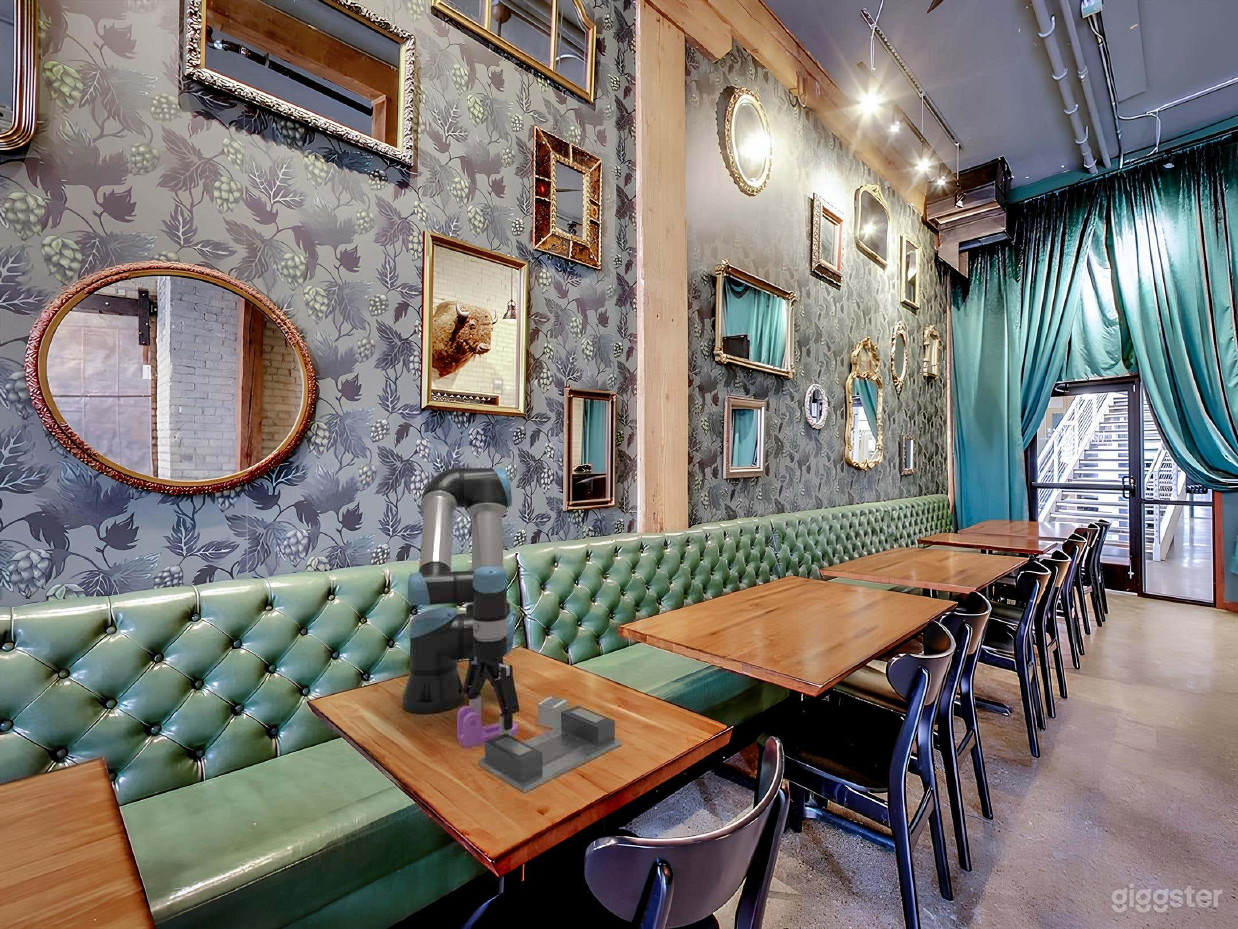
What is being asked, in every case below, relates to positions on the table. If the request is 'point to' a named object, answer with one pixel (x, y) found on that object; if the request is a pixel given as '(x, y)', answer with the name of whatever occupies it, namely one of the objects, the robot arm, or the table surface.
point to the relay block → (551, 712)
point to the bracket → (476, 728)
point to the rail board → (550, 749)
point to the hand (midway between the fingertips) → (490, 735)
